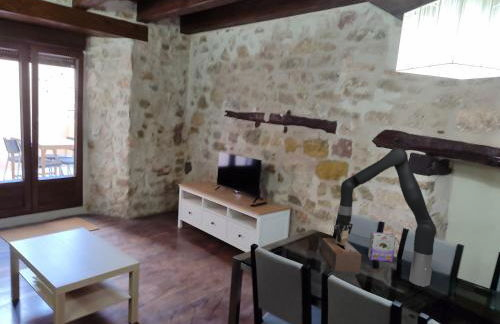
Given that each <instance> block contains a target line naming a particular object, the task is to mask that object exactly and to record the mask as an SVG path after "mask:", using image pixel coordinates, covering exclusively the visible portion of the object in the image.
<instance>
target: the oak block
mask: <svg viewBox="0 0 500 324" xmlns="http://www.w3.org/2000/svg"><path fill="white" fill-rule="evenodd" d="M340 231H342V230H340ZM339 234H340V232H339ZM335 237H336V238H335V239H336V243H338V244H340V245H345V244H347V242H348V240H349V239H348V237H349V234H348V231H346V230H344V231H343V232H342V235H341V242H338V241H337V236H335Z"/></svg>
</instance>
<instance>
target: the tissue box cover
mask: <svg viewBox="0 0 500 324" xmlns="http://www.w3.org/2000/svg"><path fill="white" fill-rule="evenodd" d="M320 254H321V255H322V256H323V257H324V259H325V260H326V261H327V263H328V264H329V266H330V267H331V268H332V270H333V271H334V272H354V273H355V272H360V271H361V265H362V253H360V252H359V251H358V250H357V249H356V248H355V247H354V246H353V245H352V244H350V242H348V241H347V244H345V245H340V244H338V243H336V238H327V237H323V238H322V240H321V250H320Z"/></svg>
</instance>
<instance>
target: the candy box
mask: <svg viewBox="0 0 500 324" xmlns="http://www.w3.org/2000/svg"><path fill="white" fill-rule="evenodd" d="M396 238H397V236H396V235H395V234H394V233H387V232H386V233H385V232H377V231H376V232H375V231H370V237H369V245H368V253H367V257H368V259H369V260H371V261H377V262H378V261H379V262H388V263H393V261H394V254H395V246H396V245H395V244H396Z"/></svg>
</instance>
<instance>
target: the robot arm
mask: <svg viewBox="0 0 500 324" xmlns="http://www.w3.org/2000/svg"><path fill="white" fill-rule="evenodd" d="M393 167H394V169H395V171H396V173H397V178H398V182H399V186H400V190H401V193H402V196H403V199H404V201H405V203H406V204H407V206H408V207H409V209H410V212H411V213H412V215H413V216H414V219H415V223H416V227H415V230H414V231H415V233H414V240H413V252H412V258H411V265H410V273H409V278H408V279H409V280H408V281H409V282H410V283H412V284H414V285H415V286H419V287H422V288H423V287H424V288H426V287H428V286H430V285H431V279H432V278H431V277H432V272H433V267H431V266H432V260H433V253H434V243H435V238H436V235H437V227H436V225H435V223H434V221H433V219H432V217H431V215H430V213H429V211H428V208H427V204H426V200H425V198H424V195H423V193H422V190H421V187H420V184H419V183H418V180H417V178H416V177H415V174H414V173H413V171H412V168H411V165H410V162H409V157H408V153H407V151H406V150H405V149H404V148H402V147H393V148H392V149H391V150H390V151H389V152H388V153H386V154H385V155H384V156H383V157H382V158H380V159H379V160H377V161H376V162H374V163H372V164H370V165H368V166H367V167H365V168H363V169H362V170H360V171H358V172H356V173H355V174H354V175H352V176H350V177H348V178H346V179H345V180H344V181H342V183H341V186H340V201H339V206H338V214H337V220H338V223H337V225H336V224H334V225H333V226H334V227H333V229H334V235H336V237H337V241H338V242H341V235H342V232H343V231H344V230H346V231H348V235H349V234H351V232H352V229H353V223H351V222H352V214H353V202H354V201H353V200H354V199H353V194H354V189H356V188H358V187H359V186H361V185H363V184H365V183H367V182H369V181H371V180H372V179H374V178H376V177H377V176H378V175H380V174H382V173H383V172H385V171H386V170H388V169H390V168H393ZM340 230H342V231H340ZM339 232H340V234H339Z"/></svg>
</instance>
